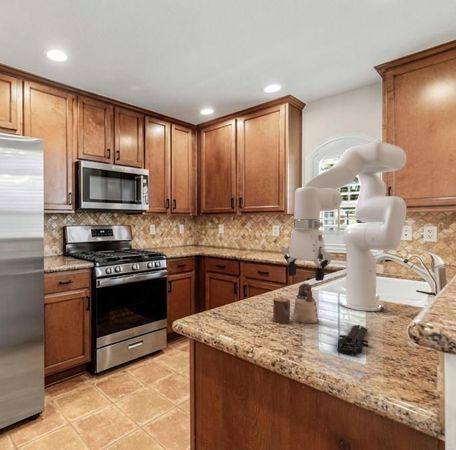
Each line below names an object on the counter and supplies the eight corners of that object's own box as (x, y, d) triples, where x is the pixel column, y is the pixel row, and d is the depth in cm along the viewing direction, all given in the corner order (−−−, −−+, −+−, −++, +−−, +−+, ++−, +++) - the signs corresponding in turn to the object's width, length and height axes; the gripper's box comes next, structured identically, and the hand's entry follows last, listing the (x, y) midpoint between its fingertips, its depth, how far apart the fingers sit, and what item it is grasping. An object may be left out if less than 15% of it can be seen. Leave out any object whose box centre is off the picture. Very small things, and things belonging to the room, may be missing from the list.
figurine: (312, 317, 105) (313, 281, 105) (321, 324, 98) (322, 286, 98) (290, 316, 106) (291, 280, 106) (297, 322, 99) (298, 285, 99)
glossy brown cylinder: (280, 317, 104) (280, 296, 104) (293, 322, 100) (293, 300, 100) (269, 320, 102) (270, 298, 101) (282, 324, 97) (283, 302, 97)
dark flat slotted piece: (354, 326, 96) (354, 322, 96) (379, 331, 92) (379, 327, 92) (328, 349, 78) (329, 344, 78) (359, 358, 74) (359, 352, 74)
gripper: (340, 226, 96) (338, 281, 96) (291, 225, 111) (289, 273, 111) (325, 225, 92) (323, 283, 92) (276, 224, 107) (275, 274, 107)
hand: (305, 277), depth 102 cm, fingers open, 9 cm apart
